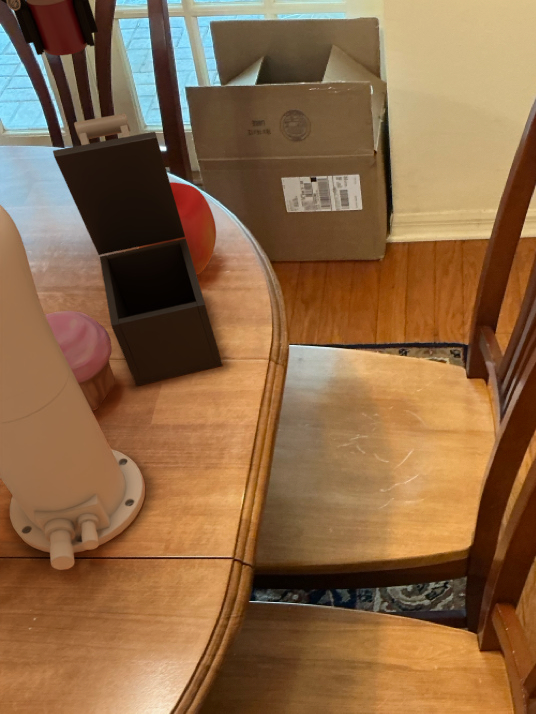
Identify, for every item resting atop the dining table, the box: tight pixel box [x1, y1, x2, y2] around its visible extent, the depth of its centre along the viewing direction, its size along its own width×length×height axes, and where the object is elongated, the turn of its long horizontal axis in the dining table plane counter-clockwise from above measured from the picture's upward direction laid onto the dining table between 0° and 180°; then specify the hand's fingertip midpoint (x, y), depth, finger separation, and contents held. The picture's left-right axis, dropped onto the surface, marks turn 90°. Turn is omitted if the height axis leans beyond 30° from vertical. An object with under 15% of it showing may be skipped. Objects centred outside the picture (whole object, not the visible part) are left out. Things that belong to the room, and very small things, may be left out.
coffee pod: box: [26, 0, 88, 56], centre depth 77 cm, size 4×4×4 cm
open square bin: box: [99, 238, 223, 387], centre depth 85 cm, size 13×10×8 cm
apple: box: [137, 181, 217, 276], centre depth 93 cm, size 10×10×10 cm
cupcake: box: [45, 310, 116, 412], centre depth 80 cm, size 9×9×10 cm
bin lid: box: [52, 113, 185, 256], centre depth 80 cm, size 13×10×6 cm
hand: (64, 43), depth 78 cm, fingers closed on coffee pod, 4 cm apart
